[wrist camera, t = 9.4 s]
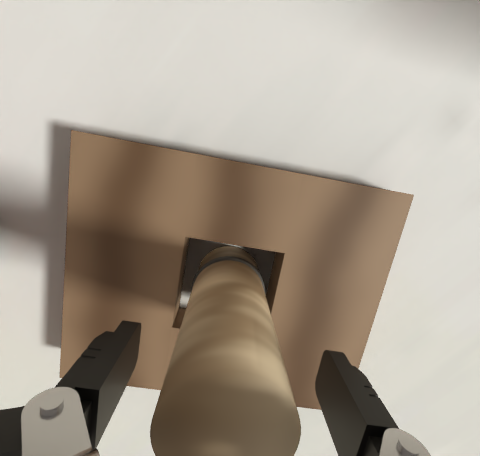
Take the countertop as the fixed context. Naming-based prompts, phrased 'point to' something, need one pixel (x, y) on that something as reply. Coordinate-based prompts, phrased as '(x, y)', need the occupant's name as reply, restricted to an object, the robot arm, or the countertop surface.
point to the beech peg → (226, 370)
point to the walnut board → (224, 231)
